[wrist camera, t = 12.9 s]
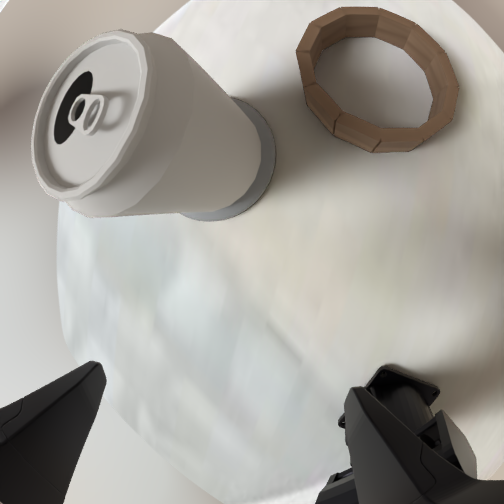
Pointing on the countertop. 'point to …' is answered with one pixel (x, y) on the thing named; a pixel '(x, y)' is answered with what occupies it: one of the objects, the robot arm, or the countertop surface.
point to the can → (141, 132)
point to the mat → (261, 178)
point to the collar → (397, 34)
